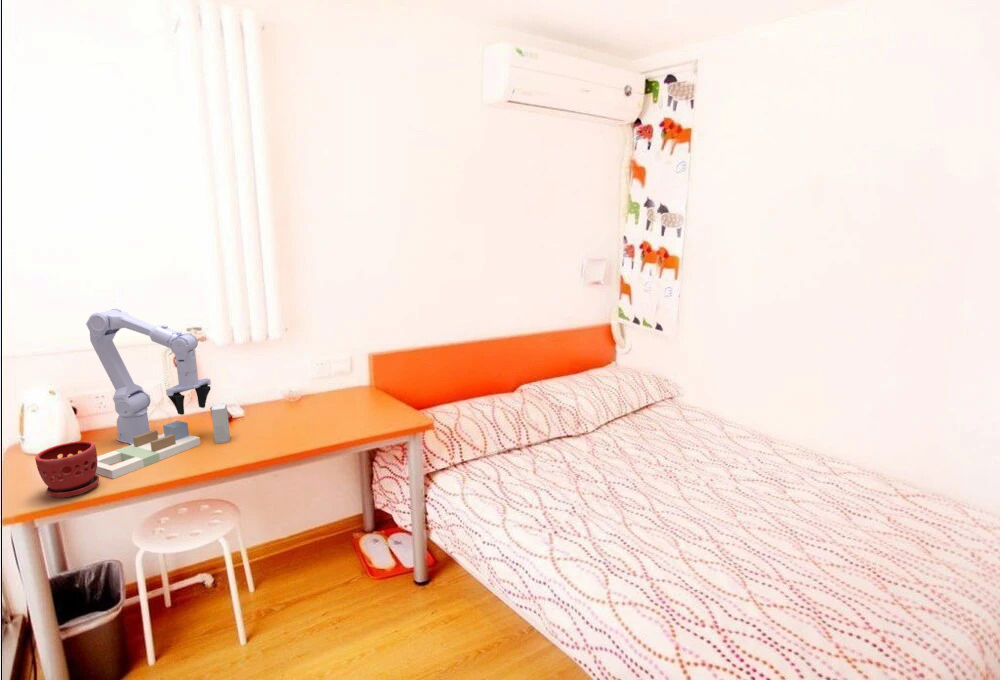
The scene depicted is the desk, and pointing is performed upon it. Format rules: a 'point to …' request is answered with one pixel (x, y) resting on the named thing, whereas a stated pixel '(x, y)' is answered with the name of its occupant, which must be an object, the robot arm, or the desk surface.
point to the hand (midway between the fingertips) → (191, 410)
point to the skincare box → (220, 423)
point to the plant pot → (68, 468)
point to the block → (176, 429)
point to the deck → (143, 453)
